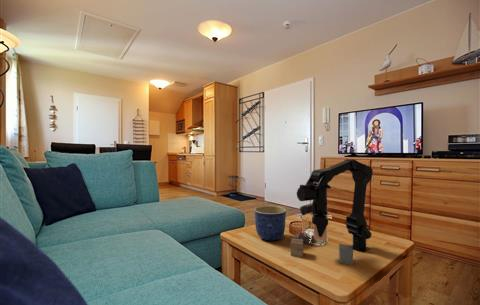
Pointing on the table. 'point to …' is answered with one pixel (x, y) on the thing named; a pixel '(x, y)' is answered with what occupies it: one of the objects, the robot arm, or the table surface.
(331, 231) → the table surface
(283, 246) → the table surface
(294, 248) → the walnut block
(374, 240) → the table surface
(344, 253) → the charcoal block
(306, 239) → the walkie-talkie
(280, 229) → the planter
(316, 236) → the terracotta block
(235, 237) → the table surface
